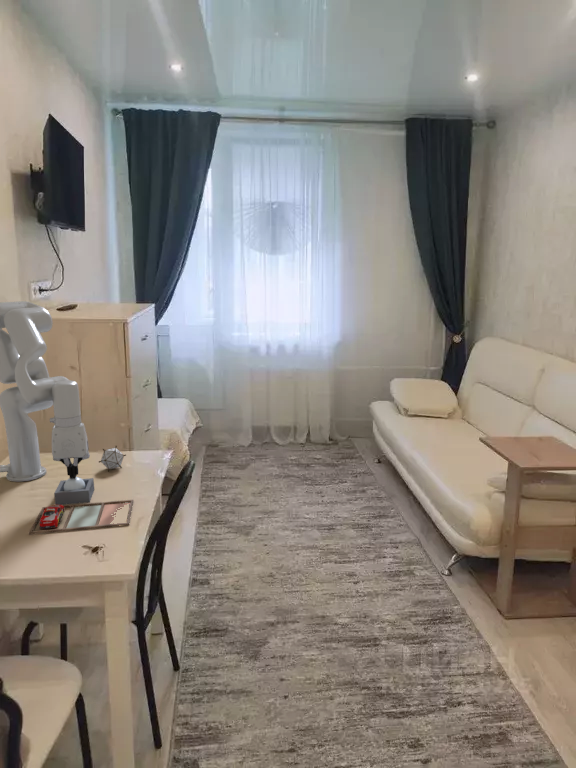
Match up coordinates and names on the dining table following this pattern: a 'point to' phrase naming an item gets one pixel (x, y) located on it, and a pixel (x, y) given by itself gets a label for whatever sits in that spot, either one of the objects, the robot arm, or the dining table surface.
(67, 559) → the dining table surface
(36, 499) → the dining table surface
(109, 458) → the game die
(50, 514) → the race car
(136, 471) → the dining table surface
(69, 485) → the dome
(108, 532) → the dining table surface
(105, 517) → the brown divided frame
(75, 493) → the base
